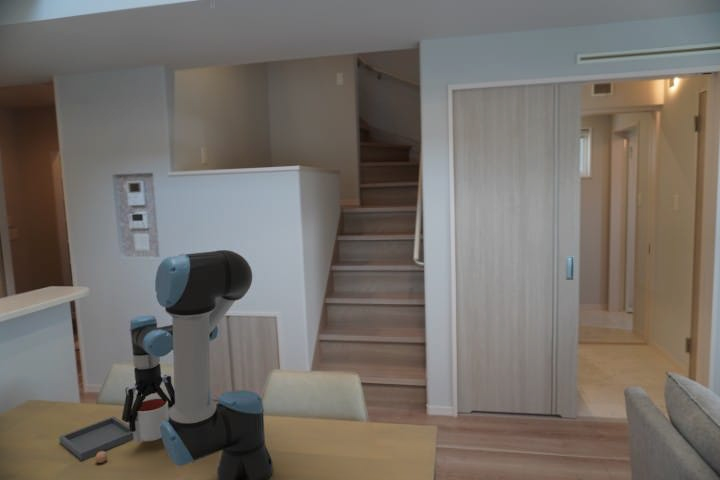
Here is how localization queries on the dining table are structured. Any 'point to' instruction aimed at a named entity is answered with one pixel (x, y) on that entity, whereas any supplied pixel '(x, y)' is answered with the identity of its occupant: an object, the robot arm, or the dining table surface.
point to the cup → (152, 418)
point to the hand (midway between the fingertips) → (153, 433)
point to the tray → (96, 438)
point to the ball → (101, 457)
